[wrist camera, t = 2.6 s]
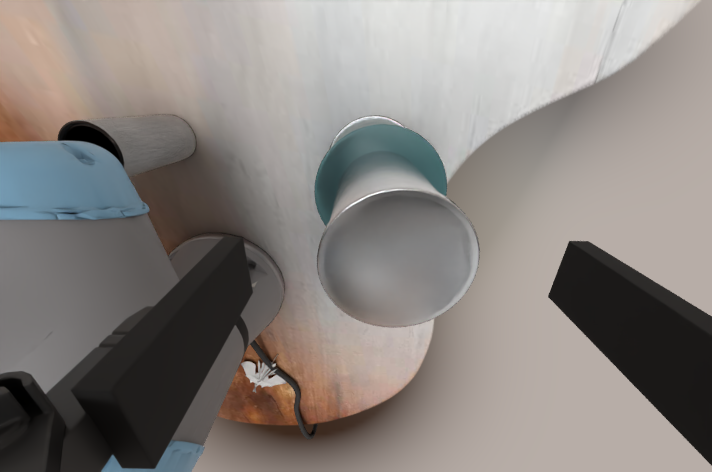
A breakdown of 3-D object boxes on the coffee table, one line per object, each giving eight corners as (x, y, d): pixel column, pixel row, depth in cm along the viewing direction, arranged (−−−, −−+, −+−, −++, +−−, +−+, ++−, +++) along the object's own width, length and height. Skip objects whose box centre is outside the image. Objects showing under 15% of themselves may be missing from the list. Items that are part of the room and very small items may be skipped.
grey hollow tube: (200, 160, 31) (131, 185, 21) (158, 158, 30) (71, 183, 21) (191, 115, 29) (111, 121, 19) (147, 113, 28) (44, 118, 19)
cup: (421, 236, 22) (464, 328, 13) (335, 235, 22) (320, 327, 13) (432, 148, 19) (497, 188, 10) (333, 147, 19) (312, 186, 10)
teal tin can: (414, 208, 33) (438, 254, 23) (329, 207, 33) (316, 253, 23) (423, 115, 28) (459, 123, 19) (326, 114, 28) (308, 121, 19)
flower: (257, 337, 43) (252, 349, 41) (302, 358, 45) (300, 371, 43) (234, 371, 45) (228, 385, 42) (278, 390, 47) (275, 404, 44)
